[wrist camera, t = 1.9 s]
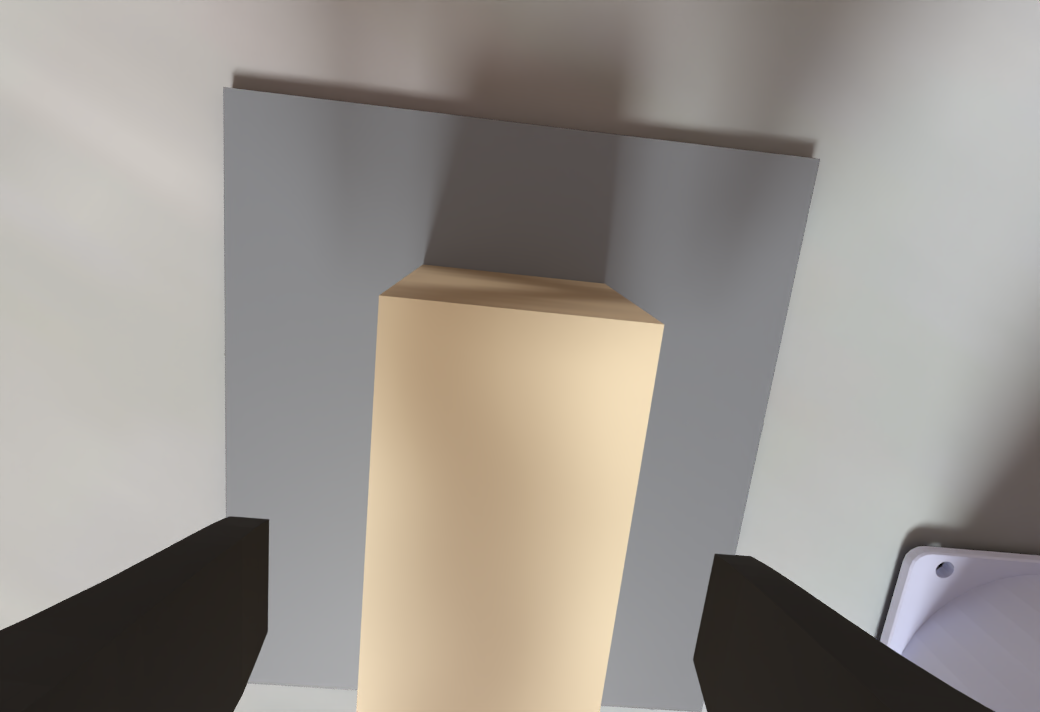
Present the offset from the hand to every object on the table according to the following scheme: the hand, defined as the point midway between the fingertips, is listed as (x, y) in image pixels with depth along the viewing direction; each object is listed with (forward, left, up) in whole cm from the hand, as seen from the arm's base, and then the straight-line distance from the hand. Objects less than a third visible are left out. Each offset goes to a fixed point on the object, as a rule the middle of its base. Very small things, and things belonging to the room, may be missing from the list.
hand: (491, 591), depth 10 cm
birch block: (0, 0, -6) cm, 6 cm away
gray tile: (0, 0, -7) cm, 7 cm away
